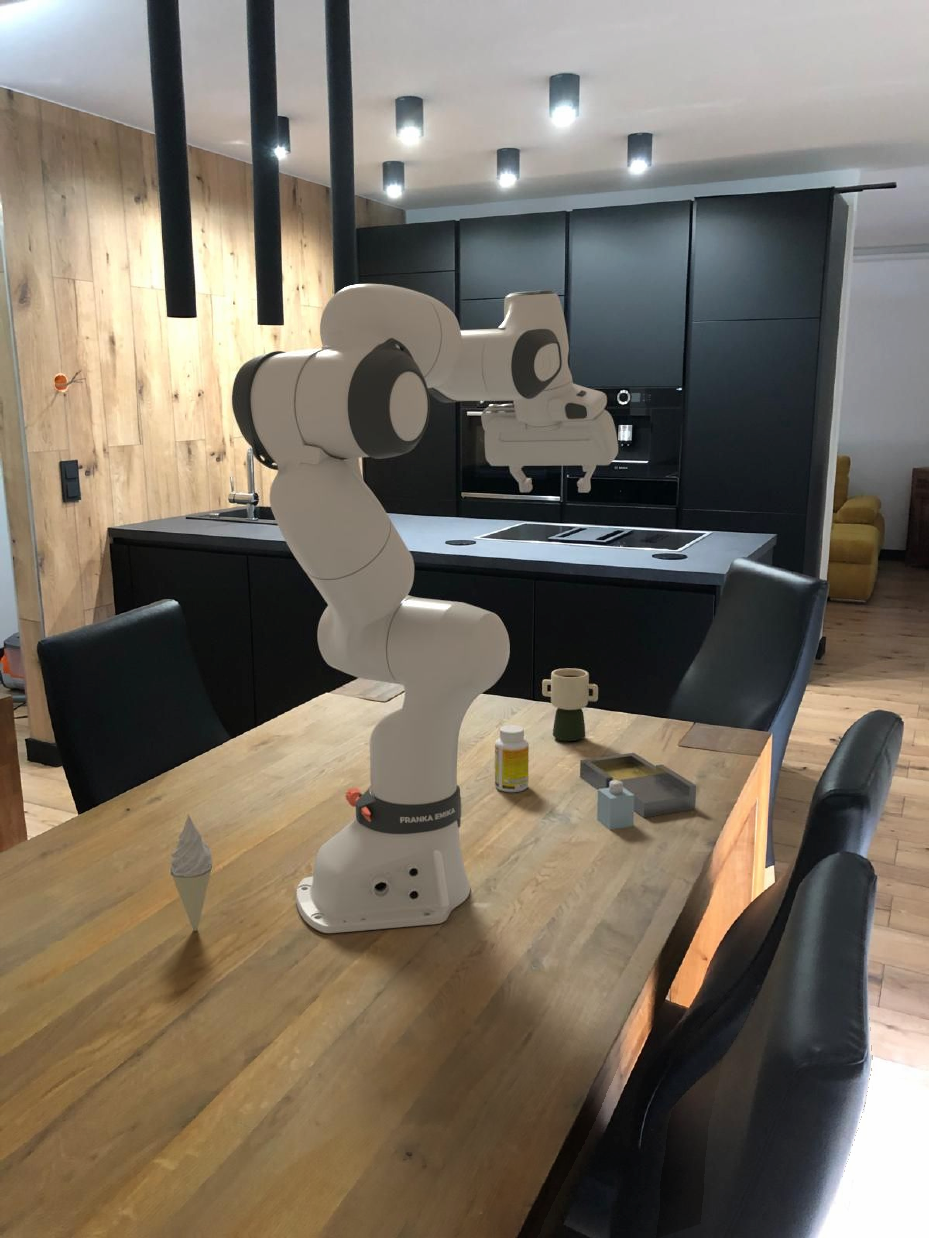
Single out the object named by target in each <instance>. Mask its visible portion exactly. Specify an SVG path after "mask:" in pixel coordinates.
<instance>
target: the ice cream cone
mask: <svg viewBox="0 0 929 1238" xmlns="http://www.w3.org/2000/svg"><path fill="white" fill-rule="evenodd" d="M178 839H179V841H178V844H177V845H176V846H175V847H174V849H175V850H174V851H172V853H171V854H170V856H171V857H172V858H173V859H172V860H171V862H170V866H171V868H169V875H171V877H172V880H173V881H174V886H175V887H176V890H177V892H178V895H179V898H180V900H181V903H182V905H183V907H184V908H183V909H184V910H185V913H186V915H187V918H188V920H189V923H190V926H191V928H192V930H193V931H194V932H197V931H198V929H199V925H200V919H201V916H202V912H203V908H204V903H205V899H206V894H207V891H208V885H209V880H210V876H211V874H212V873H211V872H212V870H213V868H214V866H213V865H214V863H213V861H214V860H213V854H212V851H211V848H210V845H208V844H207V843H206V842H204V841H203V839H202V834H201V833H200V831H198V829H197V828H196V826H195V824H194V822H193V820H192V819H191V816H190V814H187V816H186V820H185V824H184V827H183V829H182V832H181V833H180V834H179V835H178Z"/></svg>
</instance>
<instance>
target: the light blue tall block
mask: <svg viewBox="0 0 929 1238" xmlns="http://www.w3.org/2000/svg"><path fill="white" fill-rule="evenodd" d="M596 812H597V813H596V815H597V816H596V817H597V818H596V820H597V821H598V822H599V823H600V824H601V825H603V826H604V827H606V828H607V830H609V831H610V830H612V831H613V830H616V829H624V828H630V827H634V816H635V815H634V813H635V811H634V794H632V793H631V792H629V791H628V790H626V789H625V788H624V787H623V782H621V781H618V780H613V781H610V784H609V788H603V789H598V790H597V811H596Z"/></svg>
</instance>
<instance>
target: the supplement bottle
mask: <svg viewBox="0 0 929 1238" xmlns="http://www.w3.org/2000/svg"><path fill="white" fill-rule="evenodd" d="M529 752H530V751H529V741H528V740H527V738H525V730H524V727H522V726H520V725H515V724H511V725H509V724H508V725H504V726H501V727H500V728H499V737H498V738H497V739H496V740H495V742H494V785H495V788H496V789H498V790H499V791H501V792H505V793H520V792H523V791H525V790H526V789H527V788H528V787H529V761H530V760H529Z"/></svg>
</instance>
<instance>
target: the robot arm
mask: <svg viewBox="0 0 929 1238" xmlns="http://www.w3.org/2000/svg"><path fill="white" fill-rule="evenodd" d="M503 302H504V303H503V304H504V305H503V316H504V317H503V322H502V323H500V325H499V326H498V328H487V329H486V328H485V329H483V328H482V329H461V327H460V324H459V321H458V319H457V317H456V315H455V313H454V312H453V311H452V309H450V307H448V306H446V305H445V303H443V302H442V301H440V300H439V299H436V298H435V297H432V296H430V295H428V294H426V293H423V292H419V291H417V290H414V289H410V288H406V287H402V286H396V285H391V284H382V283H379V284H378V283H358V284H353V285H348V286H345V287H344V288H342V289H340V290H338V291H337V292H336V293H335V294H334V295H332V297H331V298H330V299H329V301H328V302H327V303H326V305H325V307H324V309H323V311H322V314H321V319H320V324H319V335H320V342H321V345H322V347H321V348H312V349H311V348H310V349H302V350H294V351H287V352H286V351H283V350H277V351H276V350H275V351H271V352H267V353H264V354H261V355H258V356H256V357H255V356H254V357H253V358H251V359H249V360H247V361H246V362H245V363H243V364H242V366H241V367H240V368H239V370H238V371H237V373H236V375H235V378H234V380H233V384H232V392H231V406H232V413H233V414H234V418H235V421H236V424H237V427H238V429H239V430H240V433H241V435H242V437H243V439H244V440H245V441H246V443H247V444H248V445H249V446H250V447H251V450H252V455H253V457H254V458H255V459H256V460H257V461H258V462H259V463H260V464H262V466H264V467H266V468H268V469H271V470H274V471H277V473H276V475H275V477H274V479H273V481H272V483H271V486H270V491H269V506H270V509H271V512H272V514H273V517H274V519H275V522H276V524H277V526H278V529H279V531H280V533H281V535H282V536H283V539H284V541H285V543H286V545H287V546H288V548H289V549H290V552H291V553H292V554H293V557H294V558H295V559H296V561H297V562H298V564H299V565H300V567H301V568H302V570H303V571H304V573H305V574H306V575H307V576H308V578H309V579H310V581H311V582H312V583H313V585H314V587H315V588H316V590H318V592H319V594H320V595H321V597H322V598H323V599H324V601H325V603H327V606H326V607H325V609H324V611H323V613H322V615H321V617H320V619H319V622H318V626H317V645H318V649H319V652H320V654H321V657H322V658H323V660H324V661H325V663H326V664H327V665H328V666H330V667H332V668H333V669H336V670H337V671H340V672H343V673H345V674H348V675H351V676H354V677H356V678H358V679H361V680H366V681H367V680H368V681H373V682H374V681H375V682H380V683H381V682H383V683H389V684H396V685H400V686H401V685H402V686H403V689H404V698H403V703H402V707H401V708H398V709H396V710H395V711H393V712H391V713H388V714H386V715H385V716H383V717H382V718H381V719H380V720H379V721H378V722H377V723H376V724H375V726H374V727H373V729H372V731H371V734H370V736H369V741H368V742H369V771H370V772H369V774H370V775H369V776H370V778H369V779H370V786H369V787H368V789H367V790H366V791H365V792H364V793H363V794H362V793H361V791H360V790H359V788H357V787H350V788H349V789H347V791H346V792H345V796H344V797H345V800H346V801H347V802H348V804H349V805H350V806H351V807H355V818H354V819H353V820H352V821H351V822H349V823H348V824H347V825H346V826H345V827H343V828H342V829H341V830H340V831H339V832H337V833H336V834H334V835H333V836H332V837H331V838H330V839H328V840H327V841H326V842H325V843H323V844H322V845H321V846H320V848H319V849H318V851H317V854H316V856H315V860H314V866H313V873H312V875H311V876H308V877H304V878H303V879H301V880H300V882H299V883H298V885H297V887H296V892H295V893H296V894H295V902H296V907H297V909H298V912H299V914H300V916H301V917H302V918H303V920H304V921H305V923H307V924H308V925H309V926H310V927H311V928H313V929H314V930H317V931H318V932H321V933H324V934H336V933H345V932H346V933H349V932H360V931H370V930H371V931H372V930H383V929H393V928H394V929H395V928H404V927H405V928H406V927H418V926H427V925H429V926H430V925H438V924H442V923H443V922H446V920H448V918H449V916H450V914H451V912H452V911H453V910H454V909H456V907H458V906H460V905H461V904H462V903H464V902H465V901H466V899H467V898H468V897H469V896H470V893H471V885H470V881H469V879H468V877H467V876H468V875H467V873H466V868H465V864H464V860H463V854H462V847H461V846H462V845H461V840H460V830H459V828H461V820H462V819H461V818H462V797H461V789H460V785H458V782H457V781H458V778H457V777H458V753H459V752H458V747H459V737H460V731H461V727H462V723H463V721H464V718H465V716H466V714H467V712H468V710H469V708H470V707H471V705H472V703H474V701H475V700H476V699H477V698H478V697H479V696H481V695H482V694H483V693H484V692H486V691H487V690H488V689H490V688H492V687H493V686H494V685H495V684H496V683H497V681H499V680H500V678H501V677H502V675H503V674H504V672H505V670H506V668H507V665H508V663H509V660H510V654H511V651H510V647H511V646H510V644H511V643H510V638H509V632H508V631H507V628H506V626H505V625H504V622H503V621H502V619H501V618H500V616H498V614H496V613H495V612H492V611H490V610H487V609H483V608H481V607H478V606H474V605H473V604H469V603H466V602H464V601H463V602H462V601H460V602H459V601H455V600H454V601H451V600H441V599H433V598H425V597H424V598H423V597H417V596H412V595H409V593H410V591H411V589H412V587H413V583H414V579H415V578H414V577H415V562H414V557H413V555H412V553H411V552H410V550H409V549H408V547H407V545H406V544H405V541H404V540H403V539H402V536H401V535H400V533H399V531H398V530H397V527H396V526H395V525H394V523H393V522H392V520H391V518H390V517H389V515H388V513H387V511H386V510H385V509H384V507H383V505H382V504H381V502H380V501H379V499H378V498H377V497H376V495H375V494H374V492H373V491H372V490H371V488H369V486H368V485H367V484H366V483H365V481H364V477H363V473H362V470H361V467H360V458H369V457H370V458H372V459H376V460H380V459H381V460H382V459H389V458H393V457H394V458H395V457H398V456H402V455H404V454H405V455H406V454H408V453H410V452H411V451H412V450H414V449H415V448H416V446H417V445H418V443H419V442H420V440H421V439H422V437H423V435H424V434H425V432H426V429H427V427H428V424H429V420H430V413H431V400H430V399H431V397H433V398H435V400H437V401H439V402H441V403H445V404H448V403H458V402H474V401H476V402H497V401H499V402H505V401H507V402H509V401H512V402H513V403H504V404H497V403H494V404H489V405H488V407H486V408H484V410H482V412H481V416H480V417H481V424H482V428H483V430H484V454H485V459H486V462H488V463H489V465H490V466H491V467H493V466H494V467H508V468H509V472H510V474H511V475H512V477H513V478H514V479H515V481H517V483H518V487H519V492H520V493H530V492H531V491H532V490H533V484H532V482H533V481H532V477H527V476H526V475H525V473H524V471H523V470H522V468H523V467H525V466H529V467H530V466H532V467H533V466H540V467H541V466H545V467H546V466H547V467H548V466H551V467H552V466H582V472H585V475H584V477H580V478H579V479H578V481H577V482H576V485H577V487H578V488H577V491H578V493H589V492H590V491H591V489H592V488H591V487H592V486H591V478H592V475H593V474H594V472H595V470H596V468H597V466H609V465H611V463H612V462H613V461H614V460H615V458H616V457H617V456H618V454H619V442H618V437H617V436H618V435H617V431H616V426H615V423H614V419H613V417H612V415H611V413H609V411H608V410H606V409H605V408H606V406H607V403H608V397H607V394H606V393H605V392H603V391H600V390H596V389H592V388H588V387H585V386H582V385H579V384H576V383H575V382H573V376H572V373H571V370H570V367H569V364H568V363H569V362H568V360H569V359H568V357H569V351H570V350H569V349H570V348H569V338H568V337H569V336H568V332H567V325H566V319H565V315H564V311H563V307H562V304H561V300H560V298H559V295H558V294H557V293H556V292H554V291H552V290H549V289H541V290H539V289H537V290H525V291H515V292H511V293H509V294H507V295H506V296H505V298H504V301H503ZM430 395H431V397H430ZM263 459H264V460H263Z"/></svg>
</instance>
